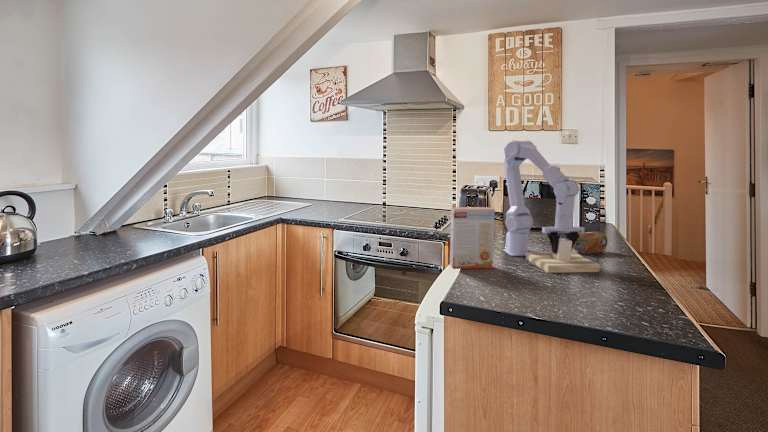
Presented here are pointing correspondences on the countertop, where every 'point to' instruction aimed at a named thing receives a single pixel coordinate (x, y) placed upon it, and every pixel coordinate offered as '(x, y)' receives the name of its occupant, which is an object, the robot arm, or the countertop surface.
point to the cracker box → (472, 237)
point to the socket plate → (562, 263)
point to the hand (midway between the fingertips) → (561, 253)
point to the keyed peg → (563, 249)
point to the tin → (590, 242)
